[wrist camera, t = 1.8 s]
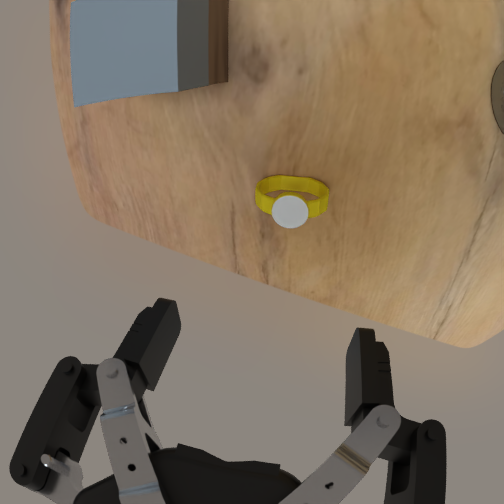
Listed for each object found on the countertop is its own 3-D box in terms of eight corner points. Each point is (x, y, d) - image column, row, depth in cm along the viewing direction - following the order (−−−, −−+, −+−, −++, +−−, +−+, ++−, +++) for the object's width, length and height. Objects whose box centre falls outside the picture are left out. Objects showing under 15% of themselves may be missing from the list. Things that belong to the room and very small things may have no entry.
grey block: (209, -16, 13) (178, -35, 9) (208, 85, 18) (178, 91, 14) (113, 6, 14) (71, 2, 10) (115, 95, 19) (74, 107, 15)
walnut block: (229, -2, 17) (209, -16, 13) (228, 81, 22) (208, 84, 18) (145, 11, 18) (113, 6, 14) (146, 87, 23) (115, 94, 19)
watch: (327, 170, 25) (335, 198, 20) (324, 198, 26) (330, 231, 22) (259, 166, 26) (251, 193, 21) (259, 194, 27) (251, 226, 22)
